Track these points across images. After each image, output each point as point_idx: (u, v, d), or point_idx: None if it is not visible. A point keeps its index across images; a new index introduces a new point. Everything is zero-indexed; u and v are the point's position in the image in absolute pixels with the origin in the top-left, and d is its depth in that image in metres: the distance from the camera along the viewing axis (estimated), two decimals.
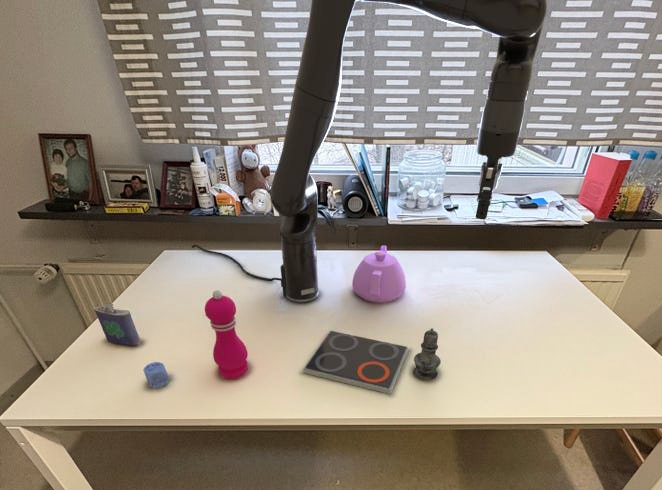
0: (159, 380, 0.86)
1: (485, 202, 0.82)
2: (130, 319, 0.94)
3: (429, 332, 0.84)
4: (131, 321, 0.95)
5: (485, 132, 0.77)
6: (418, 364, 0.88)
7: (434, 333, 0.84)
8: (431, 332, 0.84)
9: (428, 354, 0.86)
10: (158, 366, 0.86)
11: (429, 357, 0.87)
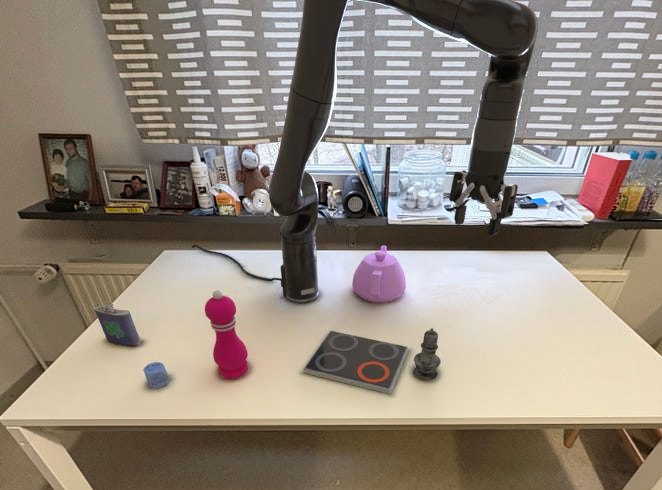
0: (159, 380, 0.86)
1: (500, 219, 0.81)
2: (130, 319, 0.94)
3: (429, 332, 0.84)
4: (131, 321, 0.95)
5: (495, 153, 0.74)
6: (418, 364, 0.88)
7: (434, 333, 0.84)
8: (431, 332, 0.84)
9: (428, 354, 0.86)
10: (158, 366, 0.86)
11: (429, 357, 0.87)
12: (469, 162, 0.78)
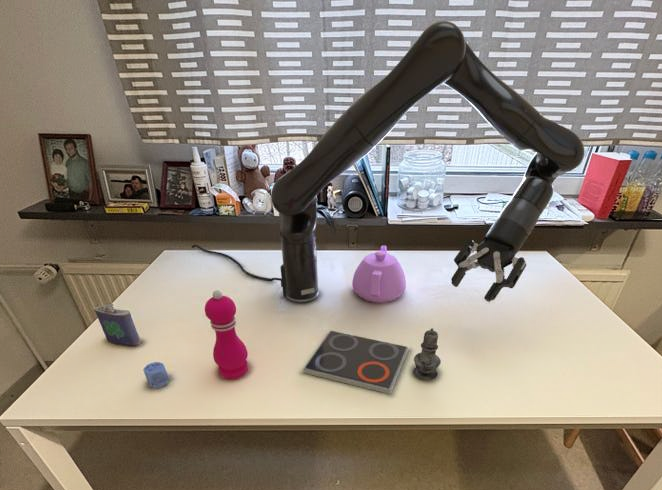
0: (159, 380, 0.86)
1: (501, 287, 0.84)
2: (130, 319, 0.94)
3: (429, 332, 0.84)
4: (131, 321, 0.95)
5: (520, 227, 0.82)
6: (418, 364, 0.88)
7: (434, 333, 0.84)
8: (431, 332, 0.84)
9: (428, 354, 0.86)
10: (158, 366, 0.86)
11: (429, 357, 0.87)
12: (493, 228, 0.85)
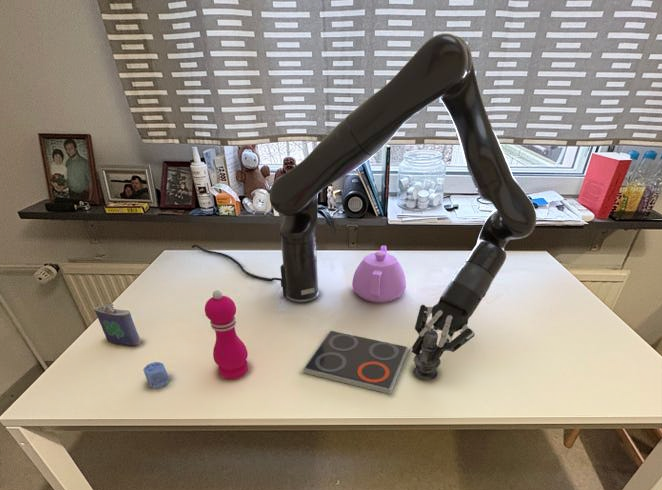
0: (159, 380, 0.86)
1: (443, 351, 0.85)
2: (130, 319, 0.94)
3: (429, 332, 0.84)
4: (131, 321, 0.95)
5: (473, 292, 0.82)
6: (418, 364, 0.88)
7: (434, 333, 0.84)
8: (431, 332, 0.84)
9: (428, 354, 0.86)
10: (158, 366, 0.86)
11: None
12: (446, 291, 0.85)
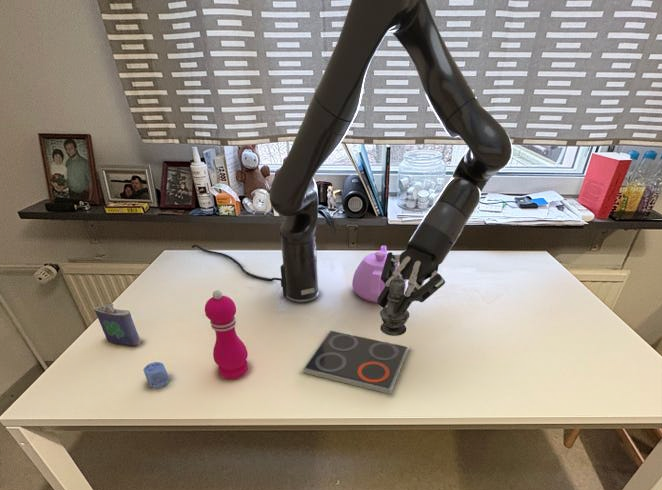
0: (159, 380, 0.86)
1: (411, 301, 0.77)
2: (130, 319, 0.94)
3: (395, 280, 0.76)
4: (131, 321, 0.95)
5: (443, 234, 0.74)
6: (384, 317, 0.79)
7: (400, 281, 0.76)
8: (396, 279, 0.76)
9: (394, 305, 0.78)
10: (158, 366, 0.86)
11: None
12: (414, 235, 0.76)
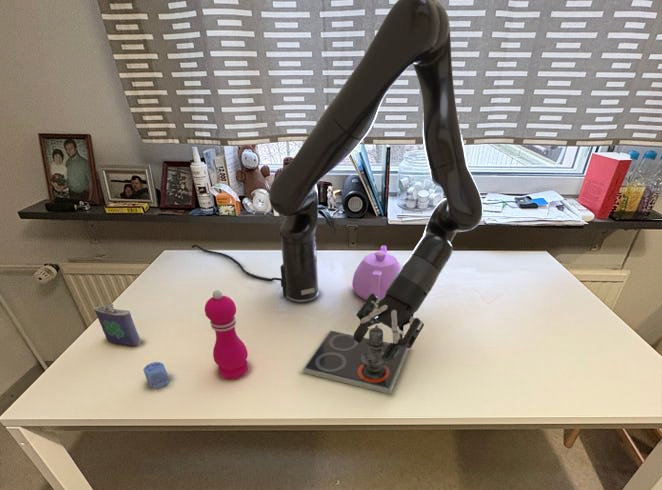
0: (159, 380, 0.86)
1: (399, 347, 0.81)
2: (130, 319, 0.94)
3: (374, 329, 0.82)
4: (131, 321, 0.95)
5: (417, 286, 0.80)
6: (365, 362, 0.85)
7: (379, 330, 0.82)
8: (375, 329, 0.82)
9: (374, 352, 0.84)
10: (158, 366, 0.86)
11: (375, 355, 0.84)
12: (391, 285, 0.82)
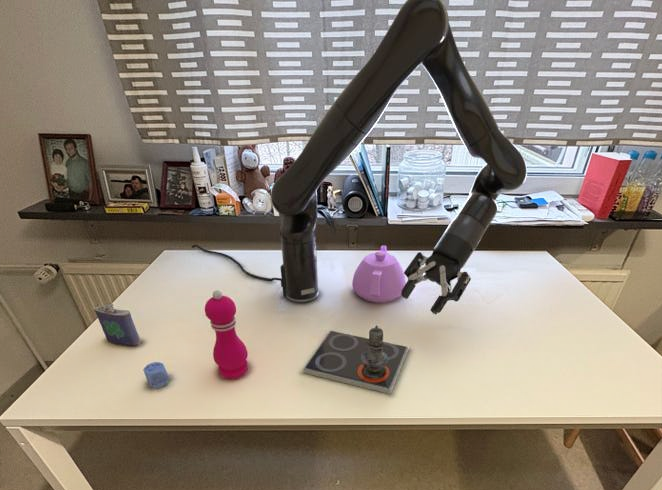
0: (159, 380, 0.86)
1: (447, 300, 0.86)
2: (130, 319, 0.94)
3: (374, 329, 0.82)
4: (131, 321, 0.95)
5: (465, 242, 0.85)
6: (365, 362, 0.85)
7: (379, 330, 0.82)
8: (375, 329, 0.82)
9: (374, 352, 0.84)
10: (158, 366, 0.86)
11: (375, 355, 0.84)
12: (439, 242, 0.87)
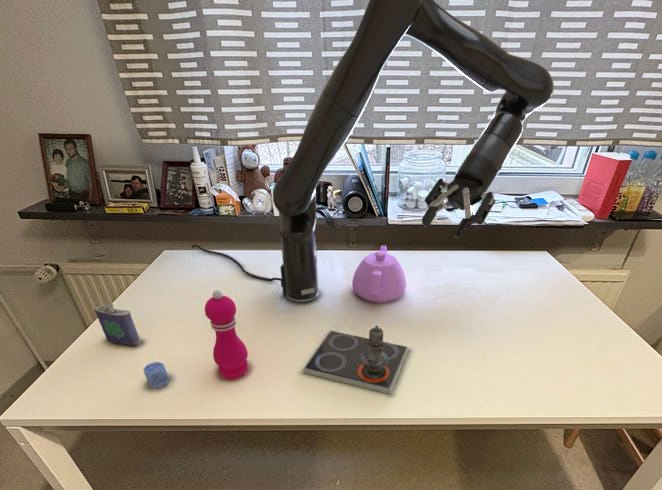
0: (159, 380, 0.86)
1: (470, 223, 0.83)
2: (130, 319, 0.94)
3: (374, 329, 0.82)
4: (131, 321, 0.95)
5: (489, 162, 0.82)
6: (365, 362, 0.85)
7: (379, 330, 0.82)
8: (375, 329, 0.82)
9: (374, 352, 0.84)
10: (158, 366, 0.86)
11: (375, 355, 0.84)
12: (462, 164, 0.84)
